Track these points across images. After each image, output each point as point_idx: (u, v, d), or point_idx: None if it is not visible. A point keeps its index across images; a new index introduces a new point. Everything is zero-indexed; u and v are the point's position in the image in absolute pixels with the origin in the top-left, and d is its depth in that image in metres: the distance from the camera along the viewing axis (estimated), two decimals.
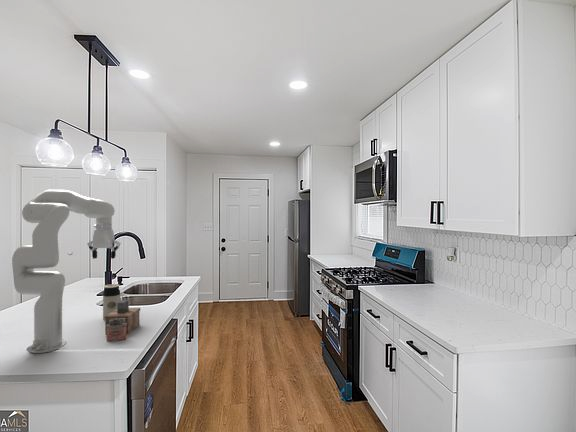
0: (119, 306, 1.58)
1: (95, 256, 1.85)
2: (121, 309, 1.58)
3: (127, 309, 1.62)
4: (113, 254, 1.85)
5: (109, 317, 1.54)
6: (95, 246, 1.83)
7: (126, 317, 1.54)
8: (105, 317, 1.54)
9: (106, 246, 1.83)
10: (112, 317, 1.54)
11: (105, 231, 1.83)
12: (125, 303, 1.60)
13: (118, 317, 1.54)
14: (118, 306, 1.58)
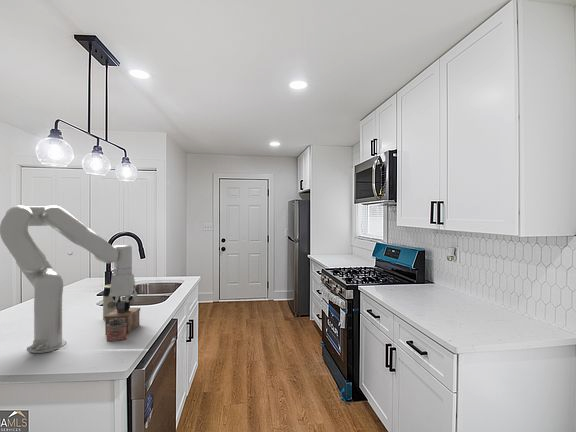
0: (119, 306, 1.58)
1: None
2: (121, 309, 1.58)
3: None
4: (127, 305, 1.60)
5: (109, 317, 1.54)
6: (113, 294, 1.58)
7: (126, 317, 1.54)
8: (105, 317, 1.54)
9: (126, 294, 1.58)
10: (112, 317, 1.54)
11: (125, 276, 1.58)
12: None
13: (118, 317, 1.54)
14: (118, 306, 1.58)
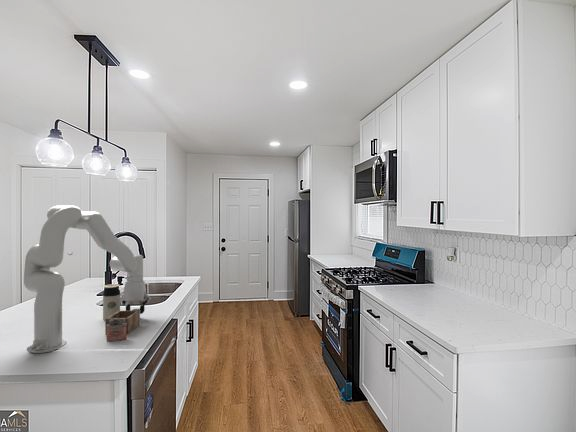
0: None
1: None
2: None
3: None
4: (142, 309, 1.76)
5: None
6: (126, 299, 1.74)
7: None
8: None
9: (138, 299, 1.74)
10: None
11: (137, 283, 1.74)
12: None
13: None
14: None
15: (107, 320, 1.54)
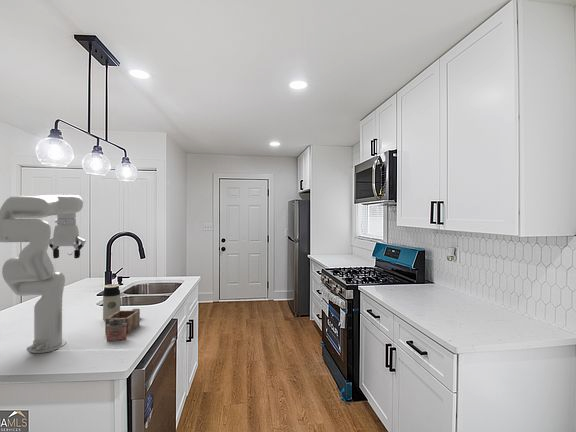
0: None
1: (56, 255, 1.62)
2: None
3: None
4: (77, 253, 1.62)
5: None
6: (56, 244, 1.60)
7: None
8: None
9: (68, 244, 1.60)
10: None
11: (67, 226, 1.60)
12: None
13: None
14: None
15: (107, 320, 1.54)
